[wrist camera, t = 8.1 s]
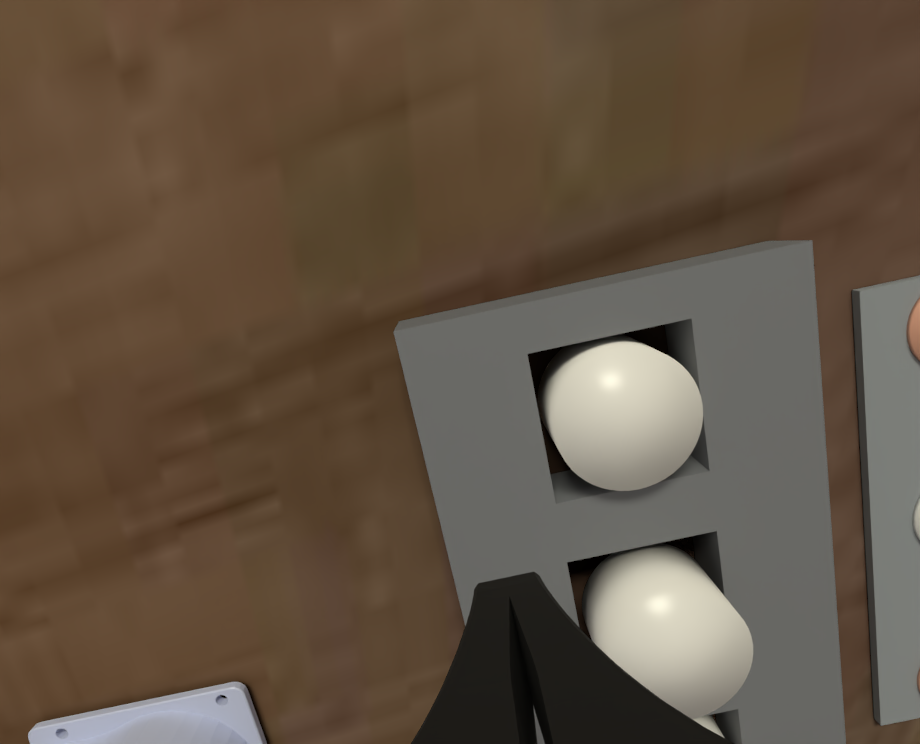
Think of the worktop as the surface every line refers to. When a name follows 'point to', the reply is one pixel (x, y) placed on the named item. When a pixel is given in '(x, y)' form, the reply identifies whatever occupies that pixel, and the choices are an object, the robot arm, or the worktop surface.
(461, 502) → the button board
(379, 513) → the worktop surface
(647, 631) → the button middle
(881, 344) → the pattern card
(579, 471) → the button front
